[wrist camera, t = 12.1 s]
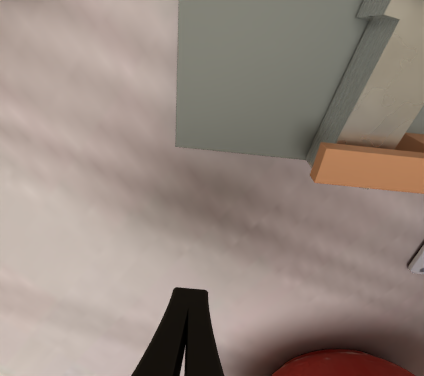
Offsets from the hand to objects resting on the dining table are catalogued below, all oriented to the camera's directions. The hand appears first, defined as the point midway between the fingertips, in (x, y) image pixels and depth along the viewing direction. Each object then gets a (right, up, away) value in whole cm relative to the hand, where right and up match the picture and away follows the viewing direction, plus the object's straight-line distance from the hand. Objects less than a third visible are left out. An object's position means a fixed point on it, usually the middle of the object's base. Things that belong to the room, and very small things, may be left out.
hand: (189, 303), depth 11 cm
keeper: (+10, +8, +6) cm, 14 cm away
